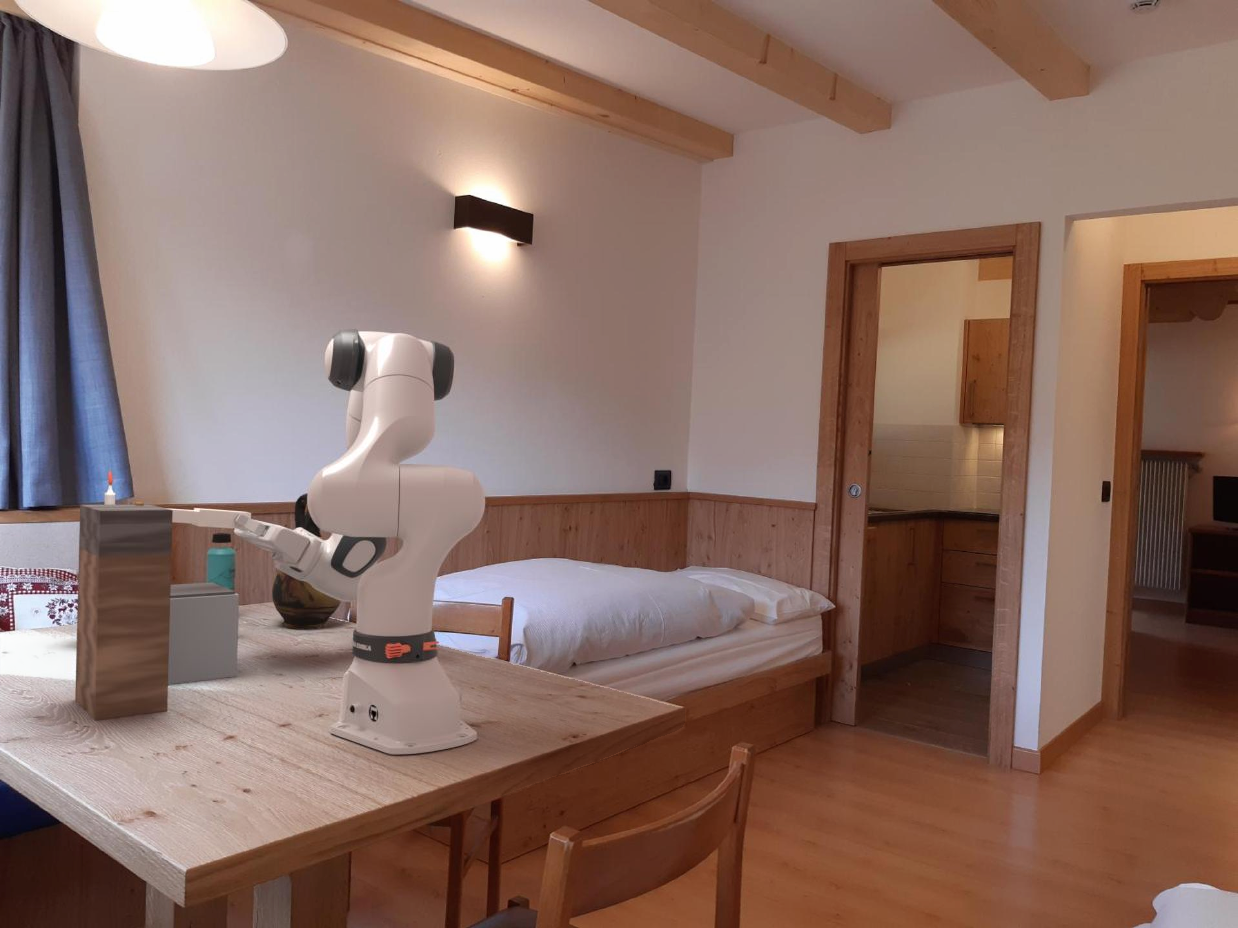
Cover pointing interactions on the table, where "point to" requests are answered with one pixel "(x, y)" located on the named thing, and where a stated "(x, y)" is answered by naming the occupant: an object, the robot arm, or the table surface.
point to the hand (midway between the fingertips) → (232, 516)
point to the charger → (208, 517)
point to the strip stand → (123, 609)
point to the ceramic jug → (302, 587)
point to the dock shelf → (202, 632)
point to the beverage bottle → (221, 563)
